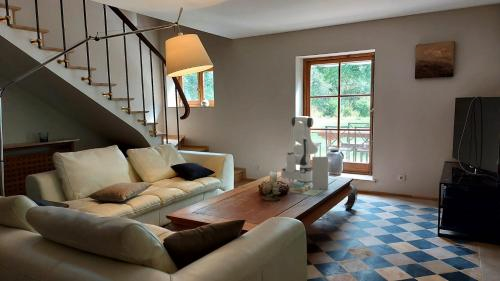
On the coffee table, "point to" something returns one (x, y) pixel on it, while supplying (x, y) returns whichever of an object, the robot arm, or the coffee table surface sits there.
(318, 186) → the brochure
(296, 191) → the riser
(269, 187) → the owl figurine
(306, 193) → the mat
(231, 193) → the coffee table surface
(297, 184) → the coaster
